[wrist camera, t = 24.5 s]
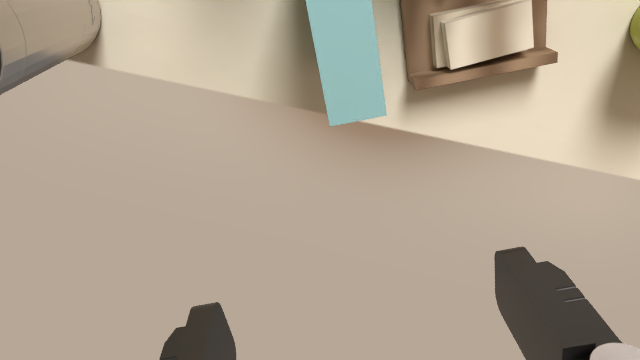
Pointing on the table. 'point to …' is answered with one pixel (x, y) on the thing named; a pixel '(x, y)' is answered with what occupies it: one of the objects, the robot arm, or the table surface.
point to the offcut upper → (488, 33)
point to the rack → (423, 74)
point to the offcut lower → (435, 18)
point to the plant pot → (635, 28)
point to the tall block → (347, 59)
